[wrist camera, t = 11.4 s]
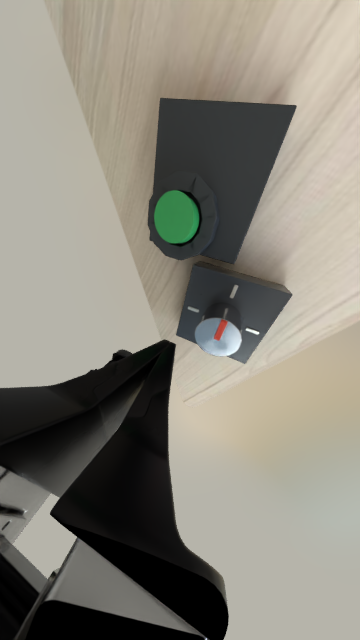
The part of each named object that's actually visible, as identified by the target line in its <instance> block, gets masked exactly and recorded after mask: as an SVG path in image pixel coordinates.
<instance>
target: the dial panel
mask: <svg viewBox="0 0 360 640" xmlns="http://www.w3.org/2000/svg"><path fill="white" fill-rule="evenodd" d="M291 297H292V293H291V292H290V291H289V290H288V289H287V288H286V287H285V286H283V285H279V284H276V283H272V282H269V281H265V280H262V279H259V278H255V277H252V276H248V275H245V274H242V273H238V272H235V271H231V270H228V269H225V268H221V267H218V266H214V265H211V264H207V263H204V262H201V261H200V262H198V263H196V264H194V265H193V268H192V272H191V276H190V280H189V284H188V288H187V292H186V296H185V301H184V305H183V309H182V313H181V317H180V321H179V325H178V329H177V333H176V335H177V336H179V337H182V338H184V339H187V340H189V341H191V342H194V343H196V344H197V342H196V340H195V330H196V327H197V325H198V324H199V322H200V320H201V318H202V316H203V314H204V312H205V310H206V309H207V308H208V307H209V306H210V305H212V304H215V303H219V302H224V303H229V304H231V305H233V306H234V307H236V308H237V309H238V310H239V312H240V314H241V317H242V341H241V345H240V347H239V349H238V350H237V351H236V352H234V353H233V354H231V355H228V356H227V357H230V358H232V359H235V360H237V361H239V362H242V363H244V364H245V363H246V362H247V360H248V359H249V357H250V356H251V354H252V353H253V351H254V350H255V349H256V347H257V346H258V344H259V343H260V341H261V340H262V338H263V337H264V336H265V334H266V333H267V331H268V330H269V328H270V327H271V325H272V324H273V323H274V321H275V320H276V318H277V317H278V315H279V314H280V312H281V311H282V310H283V308H284V307H285V305H286V304H287V302H288V301H289V299H290V298H291Z"/></svg>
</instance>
